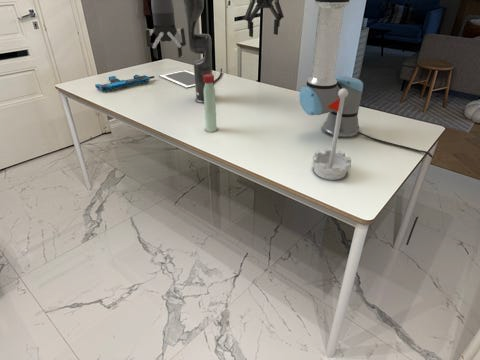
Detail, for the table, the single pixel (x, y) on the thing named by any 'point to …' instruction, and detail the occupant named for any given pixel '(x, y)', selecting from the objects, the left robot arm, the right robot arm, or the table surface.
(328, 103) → the right robot arm
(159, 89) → the table surface
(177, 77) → the tablet
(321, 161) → the flag stand
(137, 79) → the submachine gun
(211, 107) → the bottle
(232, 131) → the table surface
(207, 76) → the cap
